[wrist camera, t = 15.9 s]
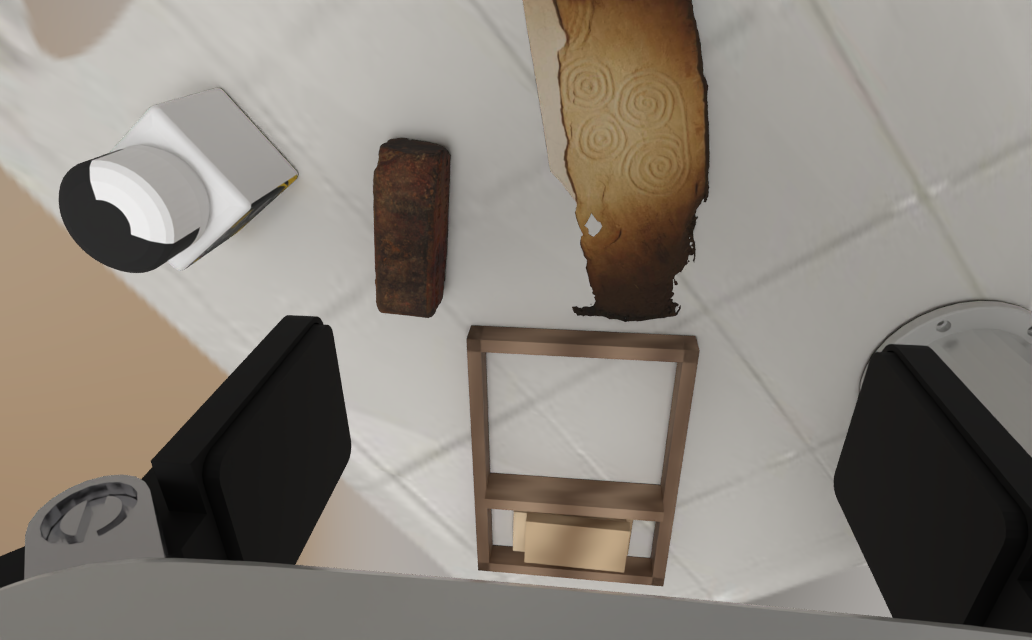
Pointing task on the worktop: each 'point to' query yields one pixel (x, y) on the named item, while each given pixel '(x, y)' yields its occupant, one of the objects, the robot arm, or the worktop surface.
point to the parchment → (625, 139)
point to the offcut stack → (572, 540)
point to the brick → (410, 226)
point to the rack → (577, 492)
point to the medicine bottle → (173, 185)
